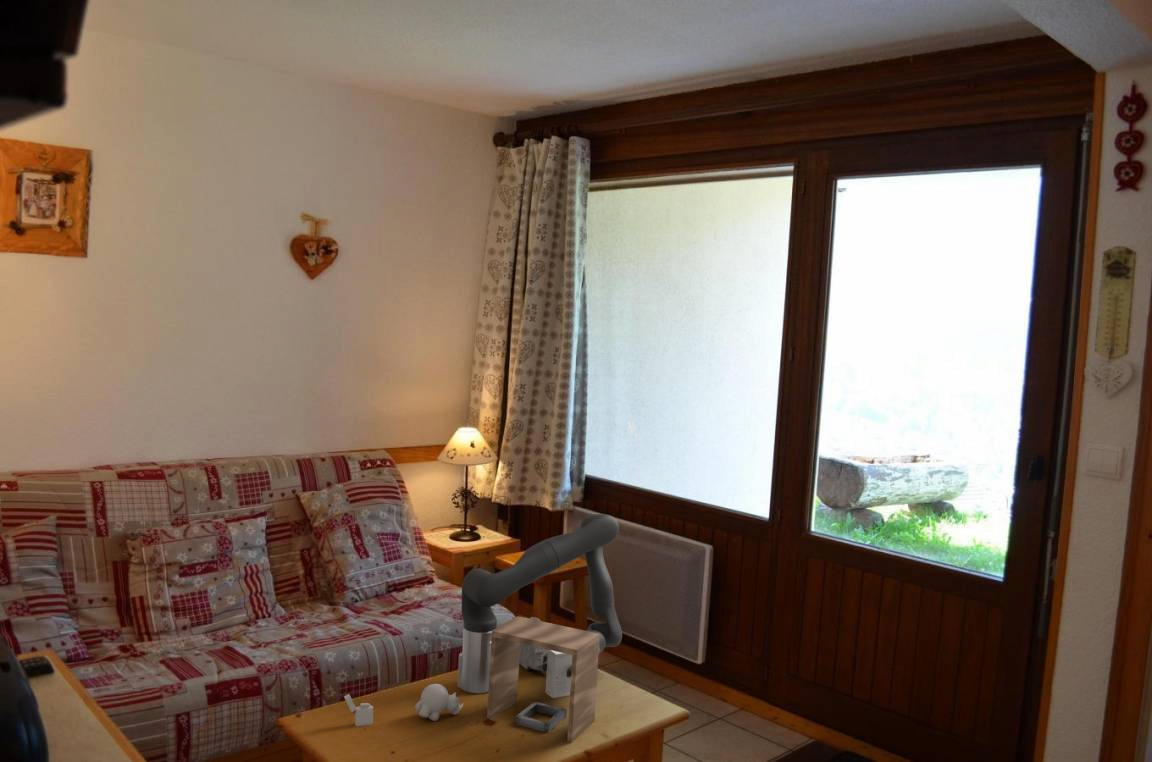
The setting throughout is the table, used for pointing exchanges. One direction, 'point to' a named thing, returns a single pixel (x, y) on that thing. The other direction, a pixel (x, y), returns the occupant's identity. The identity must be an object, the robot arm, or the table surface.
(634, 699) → the table surface
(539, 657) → the decorative rock
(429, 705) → the toy rhinoceros
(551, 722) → the socket collar
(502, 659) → the wooden bench
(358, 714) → the lighter
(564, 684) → the skincare box
